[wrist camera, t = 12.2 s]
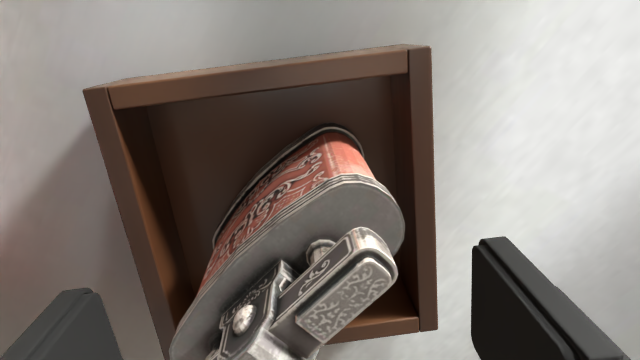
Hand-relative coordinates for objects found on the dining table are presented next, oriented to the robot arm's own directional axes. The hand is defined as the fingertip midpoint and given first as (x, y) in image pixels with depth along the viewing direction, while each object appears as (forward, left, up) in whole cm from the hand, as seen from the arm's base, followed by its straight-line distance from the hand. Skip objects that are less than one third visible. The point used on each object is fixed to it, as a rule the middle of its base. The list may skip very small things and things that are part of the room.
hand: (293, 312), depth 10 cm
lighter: (0, 0, -9) cm, 9 cm away
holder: (0, 0, -9) cm, 9 cm away
